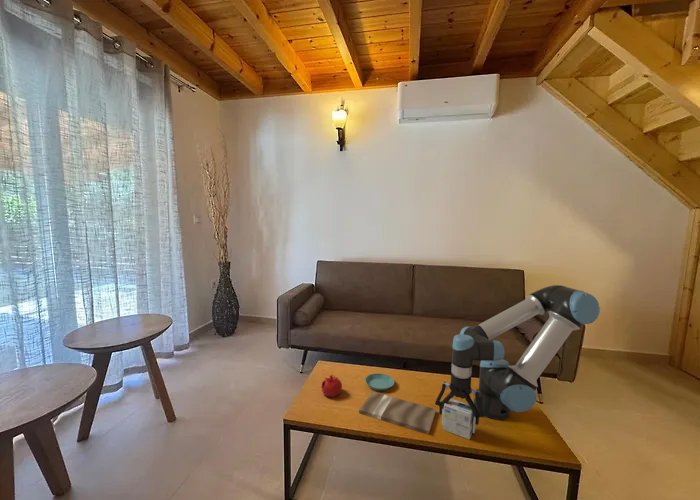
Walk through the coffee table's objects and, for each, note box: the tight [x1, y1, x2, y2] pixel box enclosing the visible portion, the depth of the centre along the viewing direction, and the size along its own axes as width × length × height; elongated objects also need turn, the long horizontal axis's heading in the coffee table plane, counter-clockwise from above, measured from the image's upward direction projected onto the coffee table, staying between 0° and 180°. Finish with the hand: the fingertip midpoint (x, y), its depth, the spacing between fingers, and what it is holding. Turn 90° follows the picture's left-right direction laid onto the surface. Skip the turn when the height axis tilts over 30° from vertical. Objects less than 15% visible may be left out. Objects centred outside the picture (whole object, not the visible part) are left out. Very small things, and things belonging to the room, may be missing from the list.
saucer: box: [364, 373, 395, 392], centre depth 157 cm, size 15×15×3 cm
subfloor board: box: [358, 391, 437, 436], centre depth 134 cm, size 30×16×2 cm, turn 65°
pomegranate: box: [321, 374, 343, 398], centre depth 148 cm, size 10×10×9 cm
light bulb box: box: [442, 398, 474, 440], centre depth 123 cm, size 11×7×11 cm, turn 57°
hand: (458, 426), depth 124 cm, fingers closed on light bulb box, 11 cm apart
